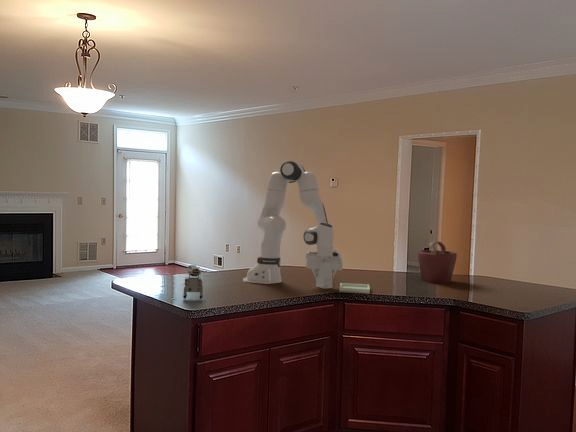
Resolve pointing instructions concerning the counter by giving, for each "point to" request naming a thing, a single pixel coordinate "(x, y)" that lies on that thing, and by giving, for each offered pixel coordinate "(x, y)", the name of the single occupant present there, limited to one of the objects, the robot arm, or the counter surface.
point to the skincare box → (324, 275)
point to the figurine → (193, 281)
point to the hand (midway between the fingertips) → (324, 277)
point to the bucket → (436, 264)
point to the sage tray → (354, 288)
